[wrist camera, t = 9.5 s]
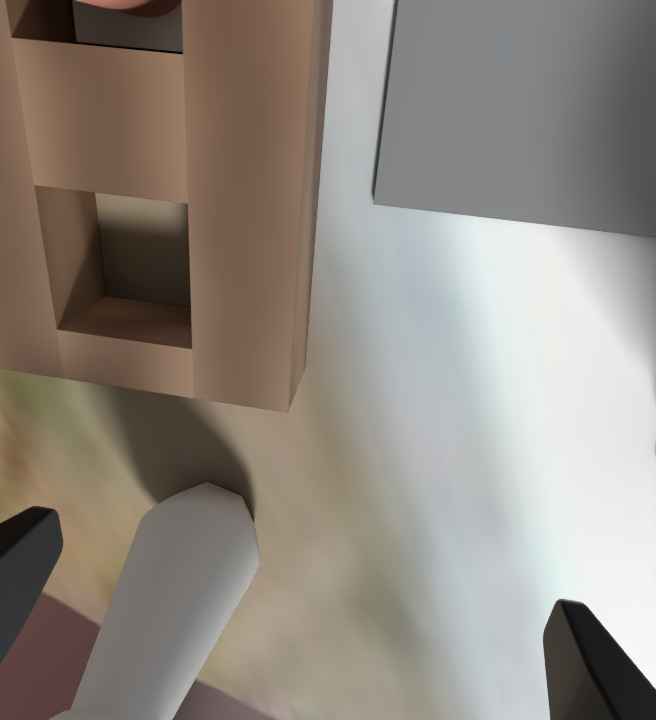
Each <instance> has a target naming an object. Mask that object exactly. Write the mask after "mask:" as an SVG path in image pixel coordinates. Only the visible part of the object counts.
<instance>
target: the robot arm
mask: <svg viewBox="0 0 656 720" xmlns="http://www.w3.org/2000/svg"><path fill="white" fill-rule="evenodd" d="M62 548H63V537H62V531H61V526H60V520H59V515H58V513H57V511H56V510H54V509H51V508H46V507H40V506H33V507H30V508H28V509H26V510H24V511H22V512H21V513H19V514H17V515H15V516H13V517H11V518H9V519H7V520H5V521H4V522H2V523H0V664H1V662H2V661H3V659H4V658H5V656H6V654H7V653H8V652H9V650H10V648H11V647H12V645H13V643H14V642H15V640H16V638H17V637H18V635H19V633H20V632H21V630H22V628H23V626H24V625H25V623H26V621H27V619H28V617H29V615H30V613H31V611H32V609H33V607H34V605H35V603H36V601H37V600H38V598H39V596H40V594H41V592H42V590H43V588H44V586H45V584H46V582H47V580H48V578H49V576H50V574H51V572H52V570H53V568H54V566H55V564H56V562H57V561H58V559H59V557H60V554H61V552H62ZM543 647H544V657H545V668H546V678H547V689H548V699H549V709H550V720H656V689H655V688H654V687H653V686H652V684H651V683H650V682H649V681H648V680H647V678H646V677H645V676H644V675H643V673H642V672H641V671H640V670H639V669H638V667H637V666H636V665H635V664H634V663H633V661H632V660H631V659H630V658H629V657H628V655H627V654H626V653H625V652H624V650H623V649H622V648H621V647H620V646H619V644H618V643H617V642H616V641H615V640H614V638H613V637H612V636H611V635H610V633H609V632H608V631H607V630H606V629H605V627H604V626H603V625H602V624H601V623H600V621H599V620H598V619H597V618H596V617H595V615H594V614H593V613H592V612H591V610H590V609H589V608H588V607H587V606H586V605H585V604H584V603H582V602H578V601H572V600H567V599H559V600H557V601H556V603H555V605H554V607H553V610H552V612H551V615H550V617H549V619H548V622H547V624H546V627H545V630H544V635H543Z"/></svg>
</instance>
